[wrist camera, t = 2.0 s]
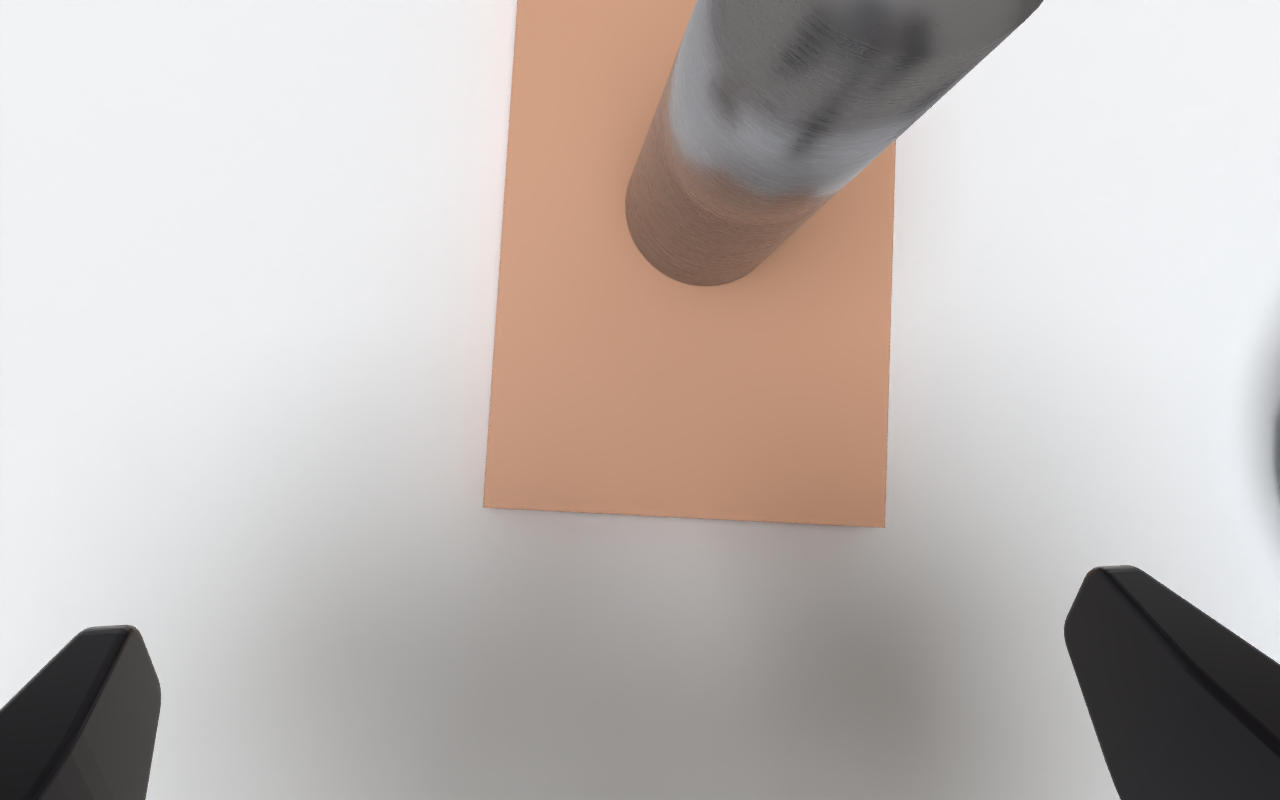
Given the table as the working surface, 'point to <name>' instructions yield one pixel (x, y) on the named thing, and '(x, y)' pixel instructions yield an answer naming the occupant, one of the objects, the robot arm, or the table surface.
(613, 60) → the peach flat block
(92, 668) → the robot arm
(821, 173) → the steel peg
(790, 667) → the table surface
